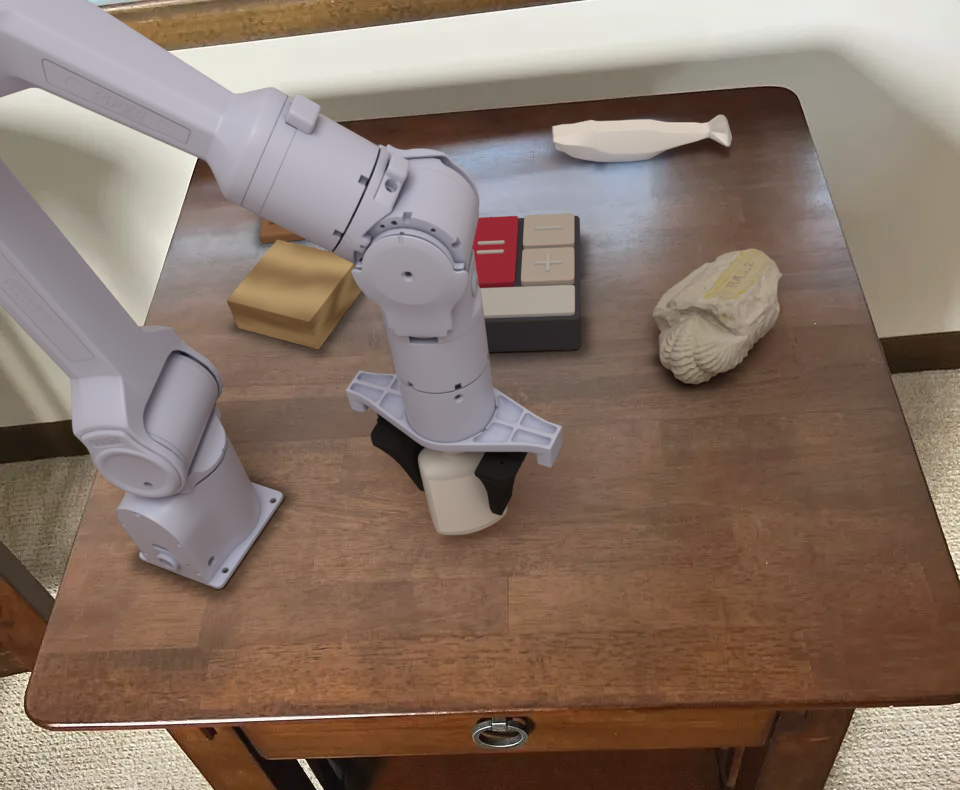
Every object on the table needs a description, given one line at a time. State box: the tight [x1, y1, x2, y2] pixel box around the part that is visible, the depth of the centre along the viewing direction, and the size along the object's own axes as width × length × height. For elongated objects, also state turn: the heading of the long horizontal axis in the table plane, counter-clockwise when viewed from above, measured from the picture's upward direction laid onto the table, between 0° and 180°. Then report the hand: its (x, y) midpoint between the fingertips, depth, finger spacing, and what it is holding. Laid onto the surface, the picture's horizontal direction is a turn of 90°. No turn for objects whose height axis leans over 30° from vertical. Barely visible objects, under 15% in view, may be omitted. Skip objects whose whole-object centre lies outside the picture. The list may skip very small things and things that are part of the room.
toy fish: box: [551, 114, 733, 163], centre depth 95 cm, size 6×18×4 cm, turn 90°
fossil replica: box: [652, 248, 783, 385], centre depth 76 cm, size 12×8×10 cm
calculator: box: [472, 212, 582, 353], centre depth 84 cm, size 11×4×15 cm
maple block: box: [226, 240, 362, 351], centre depth 86 cm, size 9×9×4 cm
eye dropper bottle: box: [418, 447, 508, 536], centre depth 63 cm, size 4×6×12 cm
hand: (465, 492), depth 66 cm, fingers closed on eye dropper bottle, 5 cm apart
